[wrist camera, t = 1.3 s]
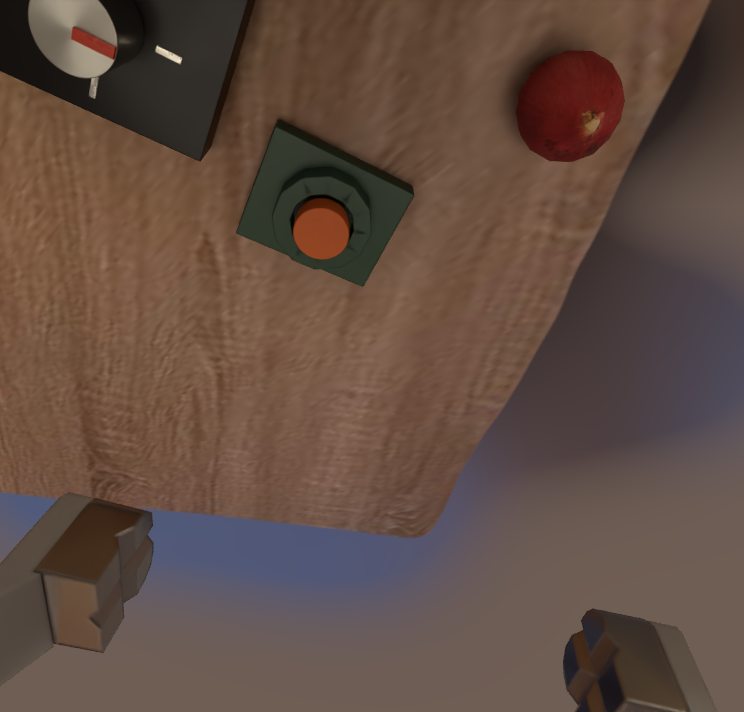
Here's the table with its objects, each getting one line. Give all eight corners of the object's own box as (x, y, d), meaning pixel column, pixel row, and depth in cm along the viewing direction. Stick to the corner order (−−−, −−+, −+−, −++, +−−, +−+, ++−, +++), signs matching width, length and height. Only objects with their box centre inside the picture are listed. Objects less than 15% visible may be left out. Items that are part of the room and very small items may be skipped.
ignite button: (287, 235, 36) (284, 246, 34) (307, 188, 34) (305, 198, 32) (336, 255, 37) (335, 268, 35) (358, 211, 35) (358, 222, 33)
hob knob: (60, 41, 28) (20, 54, 25) (70, -42, 26) (28, -40, 23) (135, 78, 30) (107, 95, 26) (151, 2, 28) (122, 9, 24)
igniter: (239, 223, 38) (230, 245, 36) (278, 118, 34) (271, 133, 31) (362, 276, 41) (363, 299, 39) (412, 186, 37) (417, 205, 34)
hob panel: (-5, 47, 31) (-36, 56, 29) (7, -163, 26) (-30, -174, 23) (210, 147, 35) (199, 162, 33) (261, -17, 30) (252, -14, 27)
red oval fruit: (601, 121, 35) (655, 160, 28) (515, 155, 36) (549, 199, 30) (589, 24, 31) (649, 44, 25) (495, 65, 32) (528, 94, 26)
